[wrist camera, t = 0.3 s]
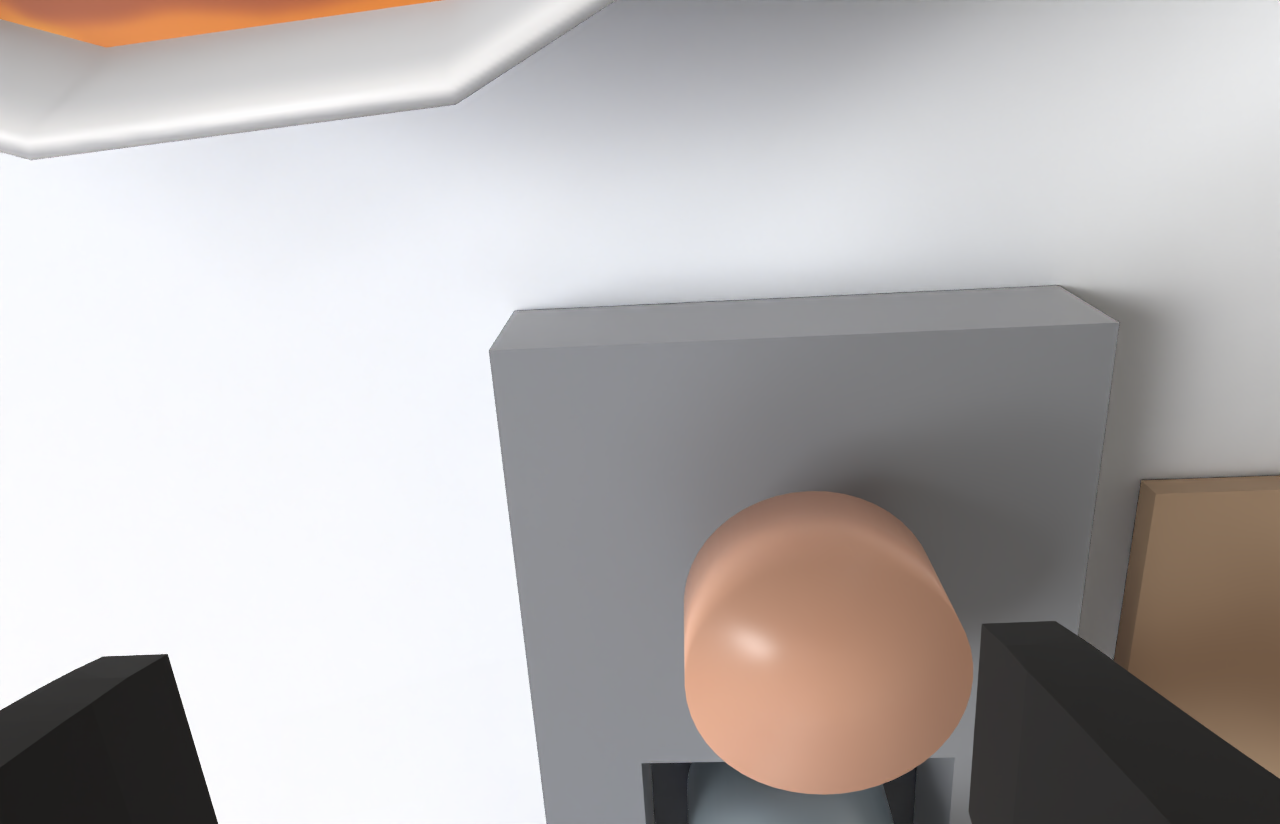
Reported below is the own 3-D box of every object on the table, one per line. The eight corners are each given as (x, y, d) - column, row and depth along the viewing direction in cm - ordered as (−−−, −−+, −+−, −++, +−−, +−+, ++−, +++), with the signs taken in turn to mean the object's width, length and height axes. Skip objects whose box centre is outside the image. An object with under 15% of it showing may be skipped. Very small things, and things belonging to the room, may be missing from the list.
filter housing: (989, 928, 23) (1025, 1028, 20) (582, 931, 23) (572, 1029, 21) (1058, 285, 17) (1119, 322, 14) (514, 310, 17) (488, 350, 15)
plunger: (928, 702, 15) (962, 791, 14) (688, 708, 16) (690, 796, 14) (943, 486, 14) (983, 552, 12) (678, 495, 14) (678, 562, 12)
